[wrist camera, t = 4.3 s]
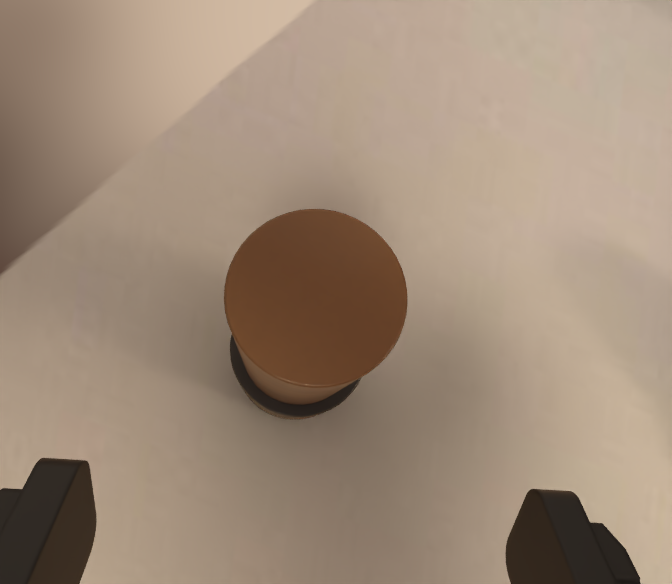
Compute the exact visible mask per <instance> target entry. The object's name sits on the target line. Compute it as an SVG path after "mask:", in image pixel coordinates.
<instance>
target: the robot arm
mask: <svg viewBox="0 0 672 584" xmlns="http://www.w3.org/2000/svg"><path fill="white" fill-rule="evenodd" d="M95 531H96V510H95V502H94V495H93V488H92V481H91V474H90V467H89V464H88V462H87V461H85V460H69V459H52V458H42V459H40V460H39V461H38V462H37V463H36V465H35V466H34V468H33V470H32V472H31V474H30V476H29V477H28V479H27V481H26V483H25V485H24V487H23V489H6V488H2V489H1V490H0V584H79V583H80V580H81V578H82V575H83V572H84V569H85V567H86V564H87V561H88V558H89V556H90V553H91V550H92V546H93V542H94V537H95ZM506 565H507V571H508V575H509V579H510V582H511V584H641V583H640V577H639V575H638V573H637V571H636V569H635V567H634V565H633V563H632V561H631V559H630V557H629V555H628V553H627V551H626V549H625V548H624V547H623V546H622V545H621V544H620V542H619V541H618V540H617V539H616V538H615V537H614V536H613V535H612V534H611V533H610V531H609V530H608V529H607V528H606V527H605V526H604V525H603V524H602V523H590V522H589V519H588V517H587V515H586V513H585V511H584V509H583V506H582V504H581V502H580V500H579V498H578V497H577V496H576V494H574V493H573V492H571V491H558V490H541V489H531V490H530V491H529V492H528V493H527V495H526V497H525V499H524V502H523V504H522V506H521V509H520V511H519V513H518V516H517V518H516V520H515V523H514V525H513V528H512V530H511V532H510V535H509V537H508V540H507V545H506Z"/></svg>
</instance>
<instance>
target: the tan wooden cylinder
mask: <svg viewBox="0 0 672 584" xmlns="http://www.w3.org/2000/svg"><path fill="white" fill-rule="evenodd" d="M224 304H225V313H226V317H227V321H228V325H229V327H230V330H231V332H232V335H231V341H230V355H231V362H232V366H233V370H234V372H235V375H236V377H237V379H238V381H239V383H240V385H241V386H242V388H243V390H244V391H245V393H246V394H247V395H248V397H249V398H250V399H251V400H252V401H253V402H254V403H255V404H256V405H257V406H258V407H259V408H261V409H262V410H264V411H265V412H267V413H269V414H271V415H274V416H276V417H280V418H284V419H305V418H309V417H313V416H316V415H319V414H321V413H324V412H326V411H328V410H331V409H332V408H334V407H336V406H337V405H339V404H340V403H341V402H343V401H344V400H345V399H346V398H347V397H348V396H349V395H350V394H351V393H352V392H353V390H354V389H355V388H356V386H357V385H358V383H359V381H360V379H361V377H362V376H364V375H366V374H367V373H369V372H370V371H372V370H373V369H374V368H375V367H377V366H378V365H379V364H380V363H381V362H382V361H383V360H384V359H385V358H386V357H387V356H388V354H389V353H390V352H391V350H392V349H393V347H394V346H395V344H396V342H397V340H398V338H399V337H400V334H401V331H402V329H403V326H404V322H405V318H406V313H407V288H406V282H405V278H404V274H403V271H402V268H401V266H400V264H399V261H398V259H397V257H396V256H395V254H394V253H393V251H392V249H391V248H390V247H389V245H388V244H387V243H386V242H385V240H384V239H383V238H382V237H381V236H380V235H379V234H378V233H377V232H375V231H374V230H373V229H372V228H370V227H369V226H368V225H366V224H364V223H363V222H361V221H359V220H358V219H356V218H353V217H351V216H349V215H346V214H343V213H339V212H336V211H331V210H324V209H305V210H298V211H293V212H289V213H286V214H283V215H280V216H277V217H276V218H274V219H272V220H270V221H268V222H266V223H265V224H263V225H262V226H260V227H259V228H257V229H256V230H255V231H254V232H253V233H252V234H251V235H250V236H249V237H248V238H247V239H246V240H245V241H244V242H243V244H242V245H241V246H240V248H239V249H238V251H237V252H236V254H235V256H234V258H233V260H232V262H231V264H230V267H229V270H228V273H227V277H226V282H225V288H224Z"/></svg>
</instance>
